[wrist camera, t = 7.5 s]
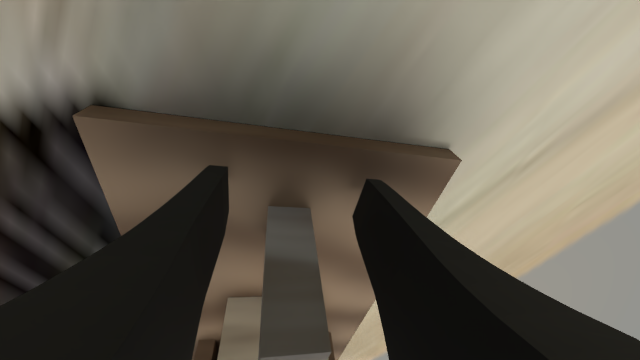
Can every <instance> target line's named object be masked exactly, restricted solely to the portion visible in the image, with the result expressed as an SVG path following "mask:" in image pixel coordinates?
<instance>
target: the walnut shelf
mask: <svg viewBox="0 0 640 360" xmlns="http://www.w3.org/2000/svg"><path fill="white" fill-rule="evenodd" d="M73 119H74V121H75V124H76V126H77V128H78V131H79V133H80V136H81V138H82V141H83V143H84V146H85V148H86V151H87V153H88V156H89V158H90V160H91V163H92V165H93V168H94V170H95V173H96V175H97V178H98V180H99V183H100V185H101V187H102V190H103V192H104V195H105V197H106V200H107V202H108V205H109V207H110V210H111V212H112V215H113V217H114V219H115V222H116V224H117V227H118V229H119V232H120V234H121V236H122V235H123V234H125V233H126V232H128V231H129V230H131V229H132V228H133V227H135V226H136V225H138V224H139V223H140V222H142V221H143V220H144V219H146V218H147V217H148V216H149V215H151V214H152V213H153V212H155V211H156V210H157V209H159V208H160V207H161V206H162V205H164V204H165V203H166V202H167V201H169V200H170V199H171V198H172V197H173V196H174V195H176V194H177V193H178V192H179V191H180V190H182V189H183V188H184V187H185V186H186V185H187V184H188V183H189V182H191V181H192V180H193V179H194V178H195V177H196V176H197V175H198V174H199V173H200V172H201V171H203V170H204V169H205V168H206V167H207V166H209V165H215V166H227V167H228V184H229V214H228V220H227V225H226V231H225V236H224V239H223V242H222V246H221V249H220V252H219V255H218V259H217V262H216V265H215V268H214V271H213V275H212V278H211V281H210V284H209V288H208V291H207V294H206V297H205V301H204V305H203V309H202V313H201V318H200V322H199V327H198V332H197V337H196V341H195V346H194V351H193V356H192V360H217V358H218V353H219V347H220V341H221V335H222V329H223V324H224V318H225V312H226V306H227V301H228V298H236V297H262V288H263V272H264V255H265V238H266V226H267V214H268V206H275V207H296V208H310V209H311V216H312V222H313V229H314V236H315V243H316V250H317V257H318V263H319V270H320V277H321V284H322V291H323V298H324V304H325V311H326V318H327V325H328V332H329V338H330V345H331V354H330V356H329V357H328V358H329V360H338V359H339V357H340V356H341V354H342V352H343V351H344V349H345V348H346V346H347V344H348V343H349V341H350V340H351V338H352V336H353V335H354V333H355V332H356V330H357V328H358V327H359V325H360V324H361V322H362V320H363V319H364V317H365V315H366V314H367V312H368V311H369V309H370V307H371V306H372V304H373V303H374V301H375V299H376V298H375V294H374V291H373V288H372V285H371V282H370V279H369V276H368V273H367V270H366V267H365V264H364V261H363V258H362V255H361V252H360V249H359V246H358V242H357V239H356V234H355V229H354V224H353V218H352V216H353V213H354V210H355V208H356V205H357V202H358V200H359V197H360V194H361V192H362V189H363V186H364V184H365V181H366V179H378V180H382V181H383V182H385V183H386V184H387V185H388V186H390V187H391V188H392V189H393V190H395V191H396V192H397V193H398V194H399V195H400V196H402V197H403V198H404V199H405V200H406V201H407V202H409V203H410V204H411V205H412V206H413V207H415V208H416V209H417V210H418V211H419V212H420V213H422V214H423V215H424V216H425V217H427V216H428V214H429V212H430V211H431V209H432V208H433V206H434V204H435V203H436V201H437V199H438V198H439V196H440V195H441V193H442V191H443V190H444V188H445V187H446V185H447V183H448V182H449V180H450V179H451V177H452V175H453V174H454V172H455V170H456V169H457V167H458V166H459V164H460V162H461V161H462V160H461V159H460V158H459V157H457V156H456V155H455V154H454V153H453V152H452V151H451V150H449V149H441V148H433V147H425V146H416V145H408V144H400V143H392V142H384V141H376V140H368V139H360V138H352V137H344V136H336V135H328V134H320V133H312V132H304V131H296V130H288V129H280V128H272V127H264V126H256V125H248V124H240V123H232V122H224V121H216V120H208V119H200V118H192V117H184V116H176V115H168V114H160V113H152V112H144V111H136V110H128V109H120V108H112V107H104V106H96V105H90V106H89V107H87V108H85V109H83V110H81V111H80V112H78V113H76V114H74V115H73Z"/></svg>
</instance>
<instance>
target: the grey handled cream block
mask: <svg viewBox="0 0 640 360" xmlns="http://www.w3.org/2000/svg"><path fill="white" fill-rule="evenodd" d="M330 354H331V345H330V338H329V332H328V325H327V318H326V311H325V304H324V298H323V291H322V284H321V277H320V270H319V263H318V257H317V250H316V243H315V236H314V229H313V222H312V216H311V209H310V208H296V207H275V206H268V214H267V226H266V238H265V255H264V272H263V288H262V297H236V298H228V301H227V306H226V312H225V318H224V324H223V329H222V335H221V341H220V347H219V353H218V358H217V360H329V358H328V357H329V356H330Z"/></svg>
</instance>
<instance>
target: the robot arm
mask: <svg viewBox="0 0 640 360" xmlns="http://www.w3.org/2000/svg"><path fill="white" fill-rule="evenodd" d="M228 214H229V184H228V167H227V166H215V165H209V166H207V167H206V168H205V169H204V170H203V171H201V172H200V173H199V174H198V175H197V176H196V177H195V178H194V179H193V180H192V181H191V182H189V183H188V184H187V185H186V186H185V187H184V188H183V189H182V190H180V191H179V192H178V193H177V194H176V195H174V196H173V197H172V198H171V199H170V200H169V201H167V202H166V203H165V204H164V205H162V206H161V207H160V208H159V209H157V210H156V211H155V212H153V213H152V214H151V215H149V216H148V217H147V218H146V219H144V220H143V221H142V222H140V223H139V224H138V225H136V226H135V227H133V228H132V229H131V230H129V231H128V232H126V233H125V234H123V235H122V236H120V237H119V238H118V239H116V240H115V241H113V242H111V243H110V244H108V245H107V246H105V247H104V248H102V249H101V250H99V251H97V252H96V253H94V254H93V255H91V256H89V257H88V258H86V259H84V260H82V261H81V262H79V263H77V264H75V265H74V266H72V267H70V268H69V269H67V270H65V271H63V272H62V273H60V274H58V275H56V276H55V277H53V278H51V279H50V280H48V281H46V282H44V283H43V284H41V285H39V286H37V287H36V288H34V289H32V290H30V291H28V292H26V293H24V294H23V295H21V296H19V297H17V298H15V299H13V300H11V301H9V302H7V303H6V304H4V305H2V306H0V360H192V356H193V351H194V346H195V341H196V337H197V332H198V327H199V322H200V318H201V313H202V309H203V305H204V301H205V297H206V294H207V291H208V288H209V284H210V281H211V278H212V275H213V271H214V268H215V265H216V262H217V259H218V255H219V252H220V249H221V246H222V242H223V239H224V236H225V231H226V225H227V220H228ZM352 218H353V224H354V229H355V234H356V239H357V242H358V246H359V249H360V252H361V255H362V258H363V261H364V264H365V267H366V270H367V273H368V276H369V279H370V282H371V285H372V288H373V291H374V294H375V298H376V301H377V305H378V309H379V314H380V318H381V323H382V327H383V331H384V336H385V341H386V346H387V351H388V356H389V360H640V341H639V340H637V339H636V338H634V337H631V336H629V335H627V334H625V333H623V332H621V331H619V330H616V329H614V328H612V327H610V326H608V325H606V324H604V323H602V322H600V321H597V320H595V319H593V318H591V317H589V316H587V315H584V314H582V313H580V312H578V311H576V310H574V309H572V308H570V307H568V306H566V305H564V304H562V303H560V302H559V301H557V300H555V299H553V298H551V297H549V296H547V295H545V294H543V293H541V292H539V291H538V290H536V289H534V288H532V287H530V286H528V285H526V284H525V283H523V282H521V281H519V280H518V279H516V278H514V277H513V276H511V275H509V274H508V273H506V272H504V271H503V270H501V269H499V268H497V267H496V266H494V265H493V264H491V263H489V262H488V261H486V260H485V259H483V258H481V257H480V256H479V255H477V254H476V253H474V252H473V251H471V250H470V249H468V248H467V247H465V246H464V245H462V244H461V243H459V242H458V241H457V240H455V239H454V238H452V237H451V236H450V235H448V234H447V233H446V232H444V231H443V230H442V229H441V228H439V227H438V226H437V225H435V224H434V223H433V222H432V221H430V220H429V219H428V218H427V217H425V216H424V215H423V214H422V213H420V212H419V211H418V210H417V209H416V208H415V207H413V206H412V205H411V204H410V203H409V202H407V201H406V200H405V199H404V198H403V197H402V196H400V195H399V194H398V193H397V192H396V191H395V190H393V189H392V188H391V187H390V186H388V185H387V184H386V183H385V182H383V181H382V180H378V179H366V181H365V184H364V186H363V189H362V192H361V194H360V197H359V200H358V202H357V205H356V208H355V210H354V213H353V216H352Z"/></svg>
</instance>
